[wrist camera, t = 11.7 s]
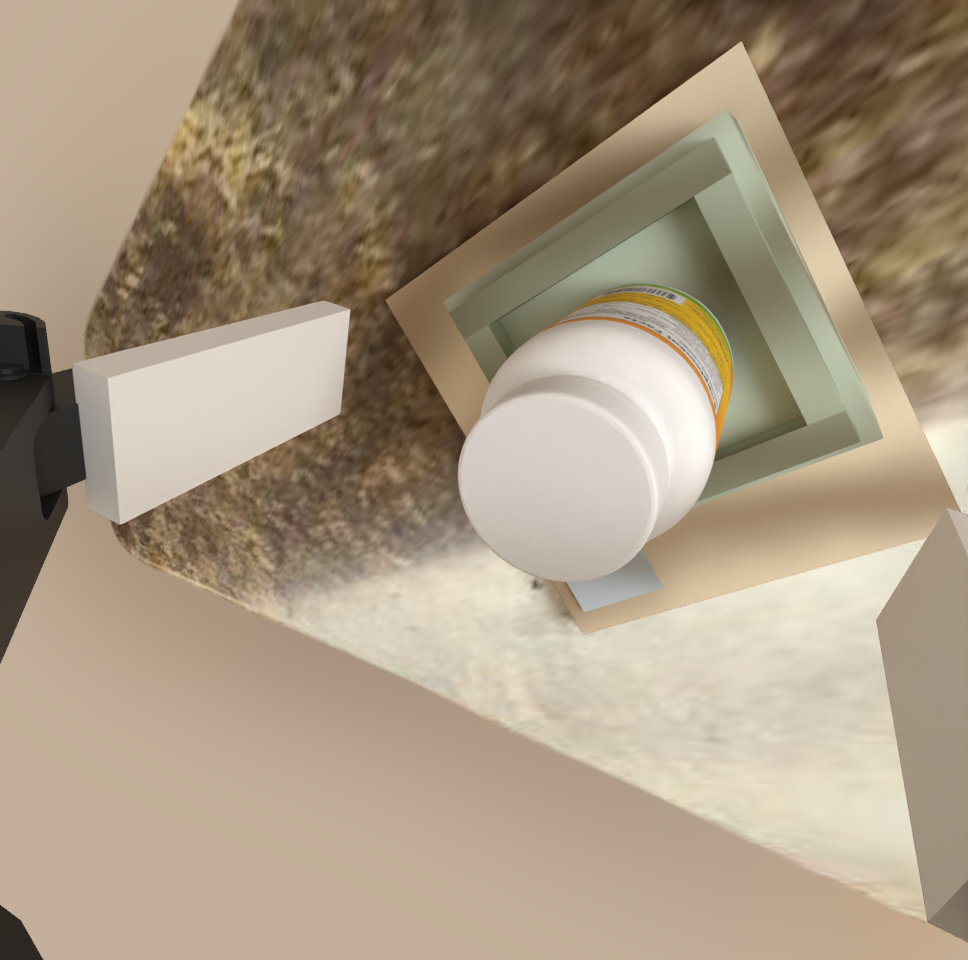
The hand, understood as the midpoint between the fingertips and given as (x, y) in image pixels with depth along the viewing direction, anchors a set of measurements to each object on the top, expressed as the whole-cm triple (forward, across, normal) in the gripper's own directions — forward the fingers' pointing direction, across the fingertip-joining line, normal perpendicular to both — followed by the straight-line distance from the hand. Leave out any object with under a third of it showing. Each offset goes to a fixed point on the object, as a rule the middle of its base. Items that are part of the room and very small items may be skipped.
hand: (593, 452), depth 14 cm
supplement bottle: (+8, 0, 0) cm, 8 cm away
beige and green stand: (+14, 0, +3) cm, 14 cm away
